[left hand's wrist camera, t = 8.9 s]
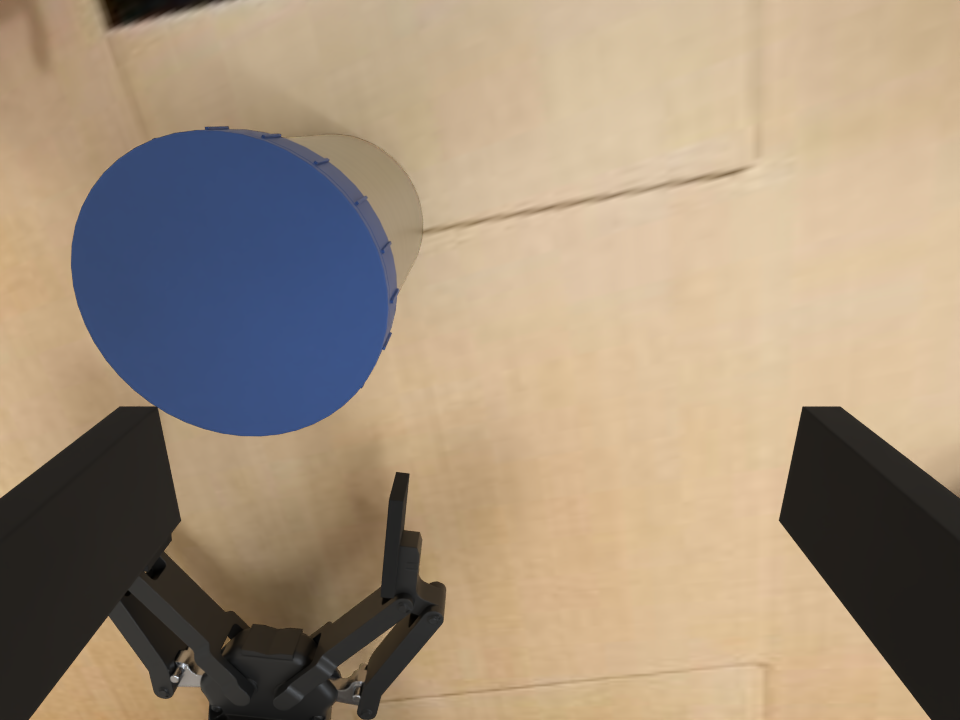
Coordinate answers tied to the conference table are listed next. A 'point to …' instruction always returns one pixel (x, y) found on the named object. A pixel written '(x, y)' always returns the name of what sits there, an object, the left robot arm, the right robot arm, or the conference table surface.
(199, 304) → the lid
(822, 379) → the conference table surface
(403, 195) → the jar
